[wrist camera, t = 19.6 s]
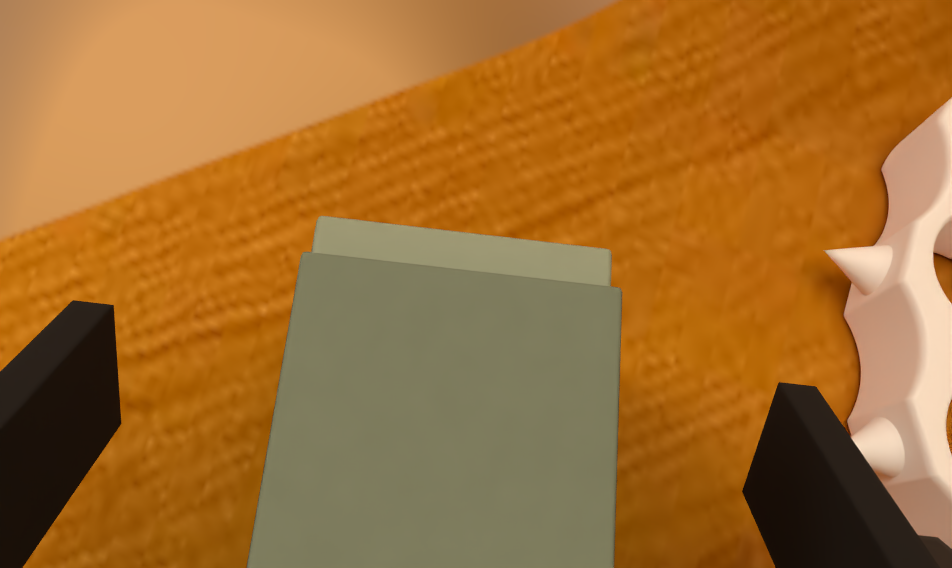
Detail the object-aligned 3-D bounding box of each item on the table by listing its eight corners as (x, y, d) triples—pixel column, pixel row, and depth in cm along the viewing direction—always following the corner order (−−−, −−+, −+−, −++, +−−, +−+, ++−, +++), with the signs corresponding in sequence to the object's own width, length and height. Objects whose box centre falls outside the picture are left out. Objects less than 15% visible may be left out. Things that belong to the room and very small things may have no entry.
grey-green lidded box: (307, 701, 20) (195, 849, 9) (353, 379, 23) (310, 198, 12) (495, 718, 20) (606, 881, 9) (518, 396, 23) (624, 235, 12)
